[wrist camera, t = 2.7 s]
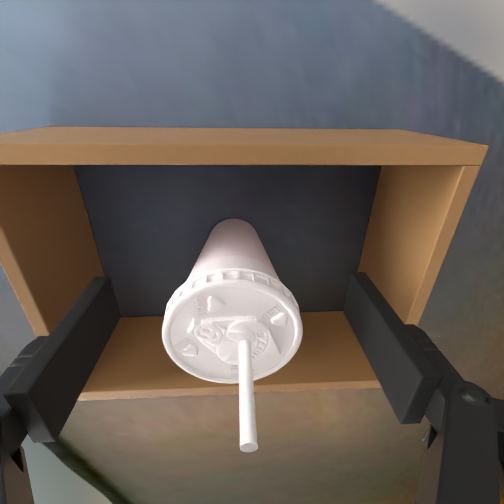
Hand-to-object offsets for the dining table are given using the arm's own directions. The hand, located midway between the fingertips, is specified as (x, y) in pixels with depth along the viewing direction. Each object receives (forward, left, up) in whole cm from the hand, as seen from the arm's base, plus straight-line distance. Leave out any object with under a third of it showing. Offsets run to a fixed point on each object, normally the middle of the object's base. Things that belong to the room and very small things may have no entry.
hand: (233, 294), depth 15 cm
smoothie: (0, 0, -7) cm, 7 cm away
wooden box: (0, 0, -6) cm, 6 cm away
